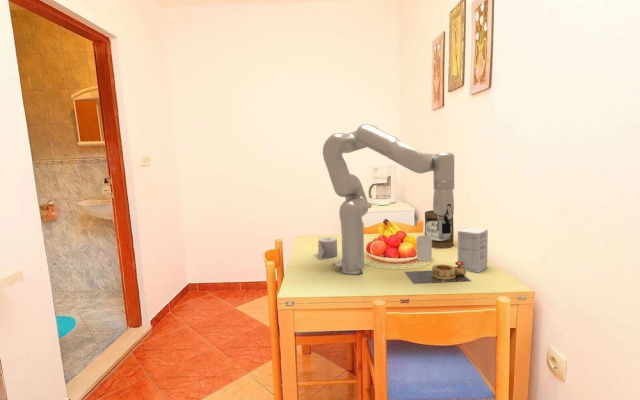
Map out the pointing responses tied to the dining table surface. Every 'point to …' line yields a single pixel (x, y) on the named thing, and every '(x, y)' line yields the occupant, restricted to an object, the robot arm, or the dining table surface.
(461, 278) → the fitting board
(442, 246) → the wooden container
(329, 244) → the toilet tissue
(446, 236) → the pipe stub
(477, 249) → the supplement box
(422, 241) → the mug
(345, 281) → the dining table surface
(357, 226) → the robot arm
